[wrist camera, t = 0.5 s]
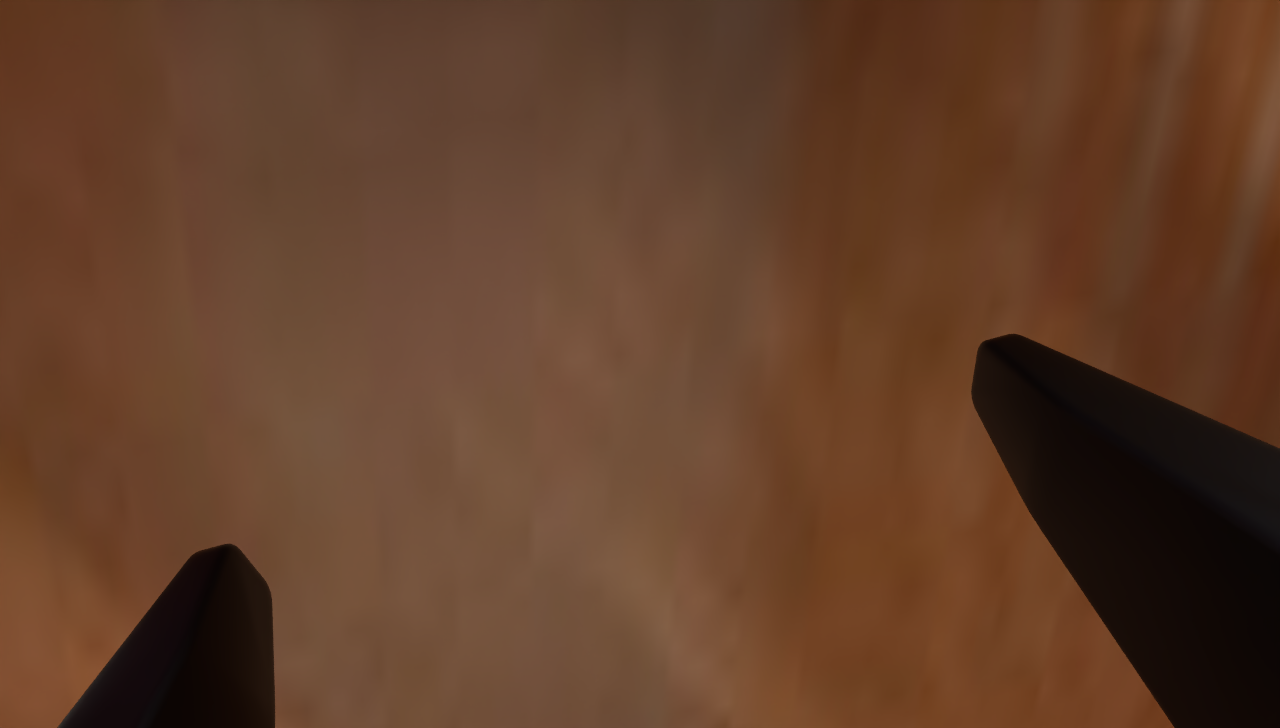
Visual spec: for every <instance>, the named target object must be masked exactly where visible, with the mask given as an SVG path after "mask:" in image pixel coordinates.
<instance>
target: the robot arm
mask: <svg viewBox="0 0 1280 728" xmlns="http://www.w3.org/2000/svg"><path fill="white" fill-rule="evenodd" d="M971 393H972V400H973V404H974V407H975V409H976V411H977V413H978V415H979V417H980V419H981V421H982V423H983V425H984V427H985V428H986V430H987V432H988V434H989V436H990V438H991V440H992V442H993V444H994V446H995V448H996V450H997V452H998V453H999V455H1000V457H1001V459H1002V461H1003V463H1004V465H1005V467H1006V469H1007V471H1008V473H1009V475H1010V477H1011V478H1012V480H1013V482H1014V484H1015V486H1016V488H1017V490H1018V492H1019V494H1020V496H1021V498H1022V499H1023V501H1024V503H1025V505H1026V506H1027V508H1028V510H1029V512H1030V513H1031V515H1032V517H1033V518H1034V520H1035V521H1036V523H1037V524H1038V526H1039V528H1040V529H1041V531H1042V532H1043V534H1044V535H1045V537H1046V538H1047V540H1048V541H1049V542H1050V544H1051V545H1052V547H1053V548H1054V550H1055V551H1056V553H1057V554H1058V556H1059V557H1060V559H1061V560H1062V562H1063V563H1064V565H1065V566H1066V568H1067V569H1068V571H1069V572H1070V574H1071V575H1072V577H1073V578H1074V580H1075V581H1076V582H1077V584H1078V585H1079V587H1080V588H1081V590H1082V591H1083V593H1084V594H1085V596H1086V597H1087V599H1088V600H1089V602H1090V603H1091V605H1092V606H1093V608H1094V609H1095V611H1096V612H1097V614H1098V615H1099V617H1100V618H1101V619H1102V621H1103V622H1104V624H1105V625H1106V627H1107V628H1108V630H1109V631H1110V633H1111V634H1112V636H1113V637H1114V639H1115V640H1116V642H1117V643H1118V645H1119V646H1120V648H1121V649H1122V651H1123V652H1124V654H1125V655H1126V657H1127V658H1128V659H1129V661H1130V662H1131V664H1132V665H1133V667H1134V668H1135V670H1136V671H1137V673H1138V674H1139V676H1140V677H1141V679H1142V680H1143V682H1144V683H1145V685H1146V686H1147V688H1148V689H1149V691H1150V692H1151V694H1152V695H1153V697H1154V698H1155V699H1156V701H1157V702H1158V704H1159V705H1160V707H1161V708H1162V710H1163V711H1164V713H1165V714H1166V716H1167V717H1168V719H1169V720H1170V722H1171V723H1172V725H1173V726H1174V728H1280V449H1279V448H1277V447H1275V446H1272V445H1270V444H1268V443H1266V442H1263V441H1261V440H1259V439H1256V438H1254V437H1252V436H1250V435H1247V434H1245V433H1243V432H1240V431H1238V430H1236V429H1234V428H1231V427H1229V426H1227V425H1224V424H1222V423H1220V422H1218V421H1215V420H1213V419H1211V418H1208V417H1206V416H1204V415H1202V414H1199V413H1197V412H1195V411H1192V410H1190V409H1188V408H1186V407H1183V406H1181V405H1179V404H1177V403H1174V402H1172V401H1170V400H1167V399H1165V398H1163V397H1161V396H1158V395H1156V394H1154V393H1151V392H1149V391H1147V390H1145V389H1142V388H1140V387H1138V386H1135V385H1133V384H1131V383H1129V382H1126V381H1124V380H1122V379H1119V378H1117V377H1115V376H1113V375H1110V374H1108V373H1106V372H1103V371H1101V370H1099V369H1097V368H1094V367H1092V366H1090V365H1087V364H1085V363H1083V362H1081V361H1078V360H1076V359H1074V358H1071V357H1069V356H1067V355H1065V354H1062V353H1060V352H1058V351H1056V350H1053V349H1051V348H1049V347H1046V346H1044V345H1042V344H1040V343H1037V342H1035V341H1033V340H1030V339H1028V338H1026V337H1024V336H1021V335H1018V334H1008V335H1004V336H1000V337H997V338H993V339H989V340H986V341H984V342H982V343H981V345H980V346H979V348H978V351H977V357H976V364H975V370H974V376H973V383H972V391H971ZM57 728H275V686H274V651H273V616H272V597H271V592H270V589H269V587H268V585H267V583H266V581H265V580H264V578H263V577H262V576H261V575H260V573H259V572H258V571H257V570H256V569H255V567H254V566H253V565H252V564H251V562H250V561H249V560H248V559H247V558H246V556H245V555H244V554H243V553H242V551H241V550H240V549H239V548H238V547H237V546H235V545H232V544H224V545H220V546H216V547H212V548H209V549H205V550H201V551H198V552H196V553H195V554H193V555H192V556H191V557H190V558H189V559H188V560H187V562H186V563H185V564H184V565H183V567H182V568H181V569H180V571H179V572H178V573H177V574H176V576H175V577H174V578H173V580H172V581H171V582H170V583H169V585H168V586H167V587H166V589H165V590H164V591H163V592H162V594H161V595H160V596H159V598H158V599H157V600H156V601H155V603H154V604H153V605H152V607H151V608H150V609H149V610H148V612H147V613H146V614H145V616H144V617H143V618H142V619H141V621H140V622H139V623H138V625H137V626H136V627H135V628H134V630H133V631H132V632H131V634H130V635H129V636H128V637H127V639H126V640H125V641H124V643H123V644H122V645H121V646H120V648H119V649H118V650H117V652H116V653H115V654H114V655H113V657H112V658H111V659H110V661H109V662H108V663H107V664H106V666H105V667H104V668H103V670H102V671H101V672H100V673H99V675H98V676H97V677H96V679H95V680H94V681H93V682H92V684H91V685H90V686H89V688H88V689H87V690H86V691H85V693H84V694H83V695H82V697H81V698H80V699H79V700H78V702H77V703H76V704H75V706H74V707H73V708H72V709H71V711H70V712H69V713H68V715H67V716H66V717H65V718H64V720H63V721H62V722H61V724H60V725H59V726H58V727H57Z"/></svg>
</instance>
